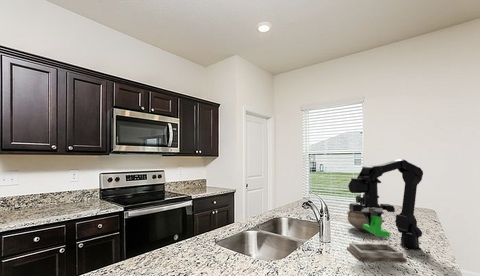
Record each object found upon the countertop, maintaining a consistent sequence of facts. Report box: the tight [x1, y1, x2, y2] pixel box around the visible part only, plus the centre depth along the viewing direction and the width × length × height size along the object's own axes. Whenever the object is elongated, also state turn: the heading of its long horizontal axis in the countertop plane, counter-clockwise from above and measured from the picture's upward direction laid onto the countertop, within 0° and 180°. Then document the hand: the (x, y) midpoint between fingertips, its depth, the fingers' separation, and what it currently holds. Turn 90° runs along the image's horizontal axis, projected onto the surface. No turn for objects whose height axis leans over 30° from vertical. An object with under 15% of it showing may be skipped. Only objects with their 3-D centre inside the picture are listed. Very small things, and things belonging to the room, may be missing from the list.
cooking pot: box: [346, 208, 385, 233], centre depth 150 cm, size 25×19×12 cm
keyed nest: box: [346, 242, 408, 262], centre depth 112 cm, size 20×13×3 cm, turn 88°
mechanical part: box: [363, 216, 391, 238], centre depth 117 cm, size 12×6×8 cm, turn 0°
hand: (371, 226), depth 117 cm, fingers closed on mechanical part
